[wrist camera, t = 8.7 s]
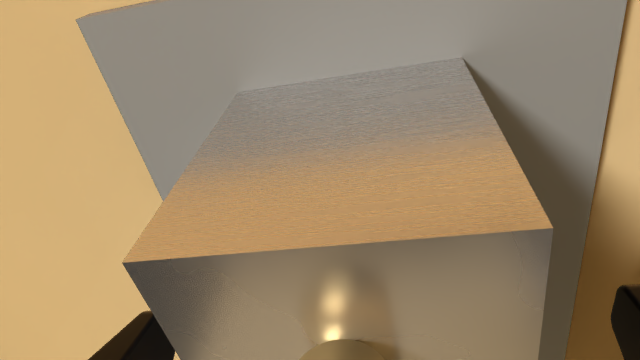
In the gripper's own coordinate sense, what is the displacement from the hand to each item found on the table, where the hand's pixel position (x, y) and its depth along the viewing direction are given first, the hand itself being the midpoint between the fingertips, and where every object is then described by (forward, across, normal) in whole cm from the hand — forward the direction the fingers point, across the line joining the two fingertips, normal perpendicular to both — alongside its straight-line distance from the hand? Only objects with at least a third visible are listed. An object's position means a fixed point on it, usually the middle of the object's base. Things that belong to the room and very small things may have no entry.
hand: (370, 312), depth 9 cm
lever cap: (+2, 0, 0) cm, 3 cm away
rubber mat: (+3, 0, 0) cm, 3 cm away
